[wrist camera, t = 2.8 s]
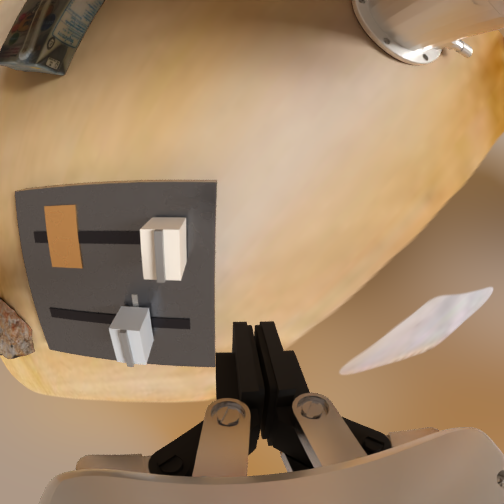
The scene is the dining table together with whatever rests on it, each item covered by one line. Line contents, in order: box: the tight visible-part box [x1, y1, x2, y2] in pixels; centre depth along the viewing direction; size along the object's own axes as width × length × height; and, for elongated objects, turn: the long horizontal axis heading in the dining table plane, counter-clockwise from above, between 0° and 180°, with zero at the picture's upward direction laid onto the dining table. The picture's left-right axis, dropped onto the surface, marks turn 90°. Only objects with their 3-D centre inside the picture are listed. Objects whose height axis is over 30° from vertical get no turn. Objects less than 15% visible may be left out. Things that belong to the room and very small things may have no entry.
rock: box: [0, 299, 35, 359], centre depth 26 cm, size 9×6×10 cm
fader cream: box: [140, 217, 187, 283], centre depth 22 cm, size 3×4×4 cm
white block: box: [109, 306, 154, 367], centre depth 24 cm, size 3×4×4 cm
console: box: [15, 180, 217, 367], centre depth 26 cm, size 22×20×2 cm
